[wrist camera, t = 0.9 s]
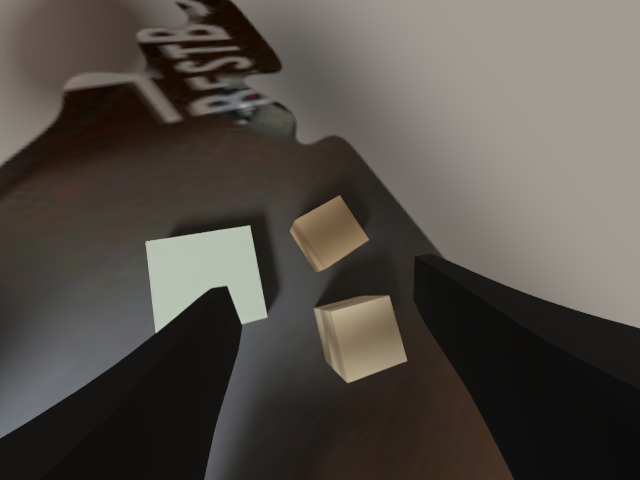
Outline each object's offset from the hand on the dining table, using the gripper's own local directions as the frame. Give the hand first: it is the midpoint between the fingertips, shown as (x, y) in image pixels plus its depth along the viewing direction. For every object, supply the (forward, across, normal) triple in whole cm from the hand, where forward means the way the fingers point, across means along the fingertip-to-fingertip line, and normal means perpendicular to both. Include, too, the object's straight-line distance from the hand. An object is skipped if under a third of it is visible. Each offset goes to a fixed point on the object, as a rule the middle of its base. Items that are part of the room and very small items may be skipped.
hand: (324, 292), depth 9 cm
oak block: (+15, 0, +5) cm, 16 cm away
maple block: (+10, -1, +12) cm, 16 cm away
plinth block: (+11, +10, +6) cm, 16 cm away
